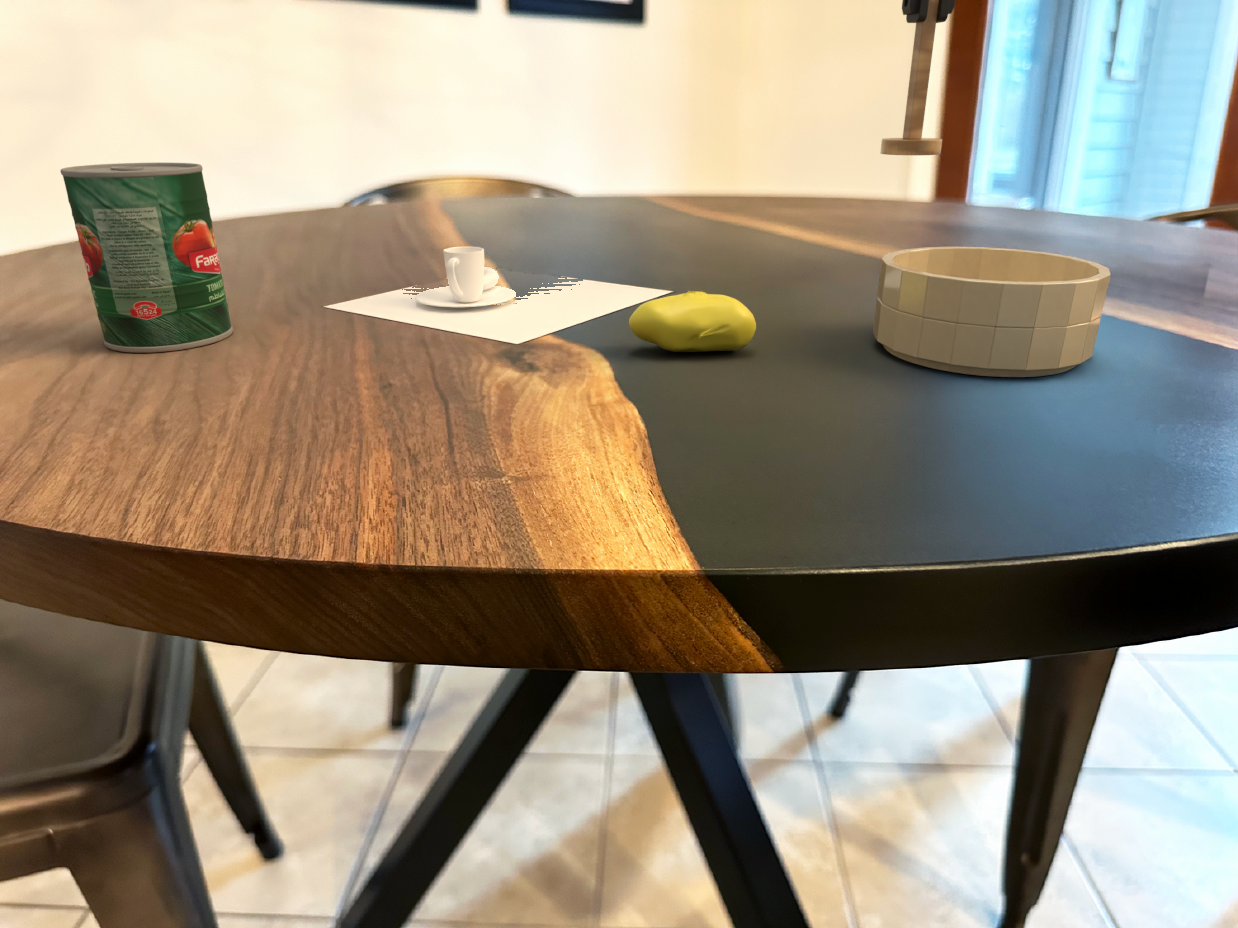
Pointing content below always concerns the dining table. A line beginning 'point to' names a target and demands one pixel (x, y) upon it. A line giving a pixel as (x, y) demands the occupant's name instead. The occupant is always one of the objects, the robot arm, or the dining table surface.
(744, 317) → the lemon
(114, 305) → the canned tomato
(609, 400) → the dining table surface
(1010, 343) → the bowl
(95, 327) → the dining table surface
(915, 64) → the flat wooden stick
